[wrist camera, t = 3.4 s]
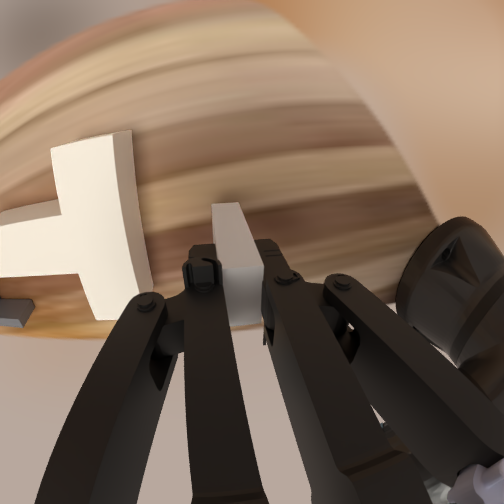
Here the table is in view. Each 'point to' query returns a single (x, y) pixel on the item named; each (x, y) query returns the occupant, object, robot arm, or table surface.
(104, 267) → the t block
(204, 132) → the table surface
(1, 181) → the table surface
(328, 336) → the robot arm
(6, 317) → the t bay
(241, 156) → the table surface
